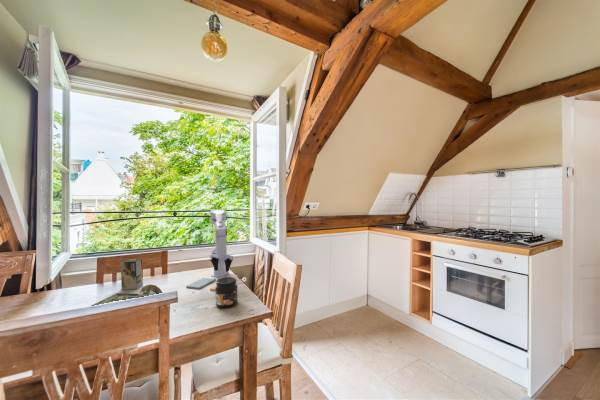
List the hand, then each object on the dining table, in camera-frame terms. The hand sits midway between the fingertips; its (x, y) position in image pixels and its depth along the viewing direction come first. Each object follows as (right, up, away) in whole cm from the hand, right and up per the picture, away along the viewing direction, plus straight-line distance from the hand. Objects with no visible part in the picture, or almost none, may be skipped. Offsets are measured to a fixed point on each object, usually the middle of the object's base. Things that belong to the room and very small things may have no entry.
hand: (221, 270), depth 147 cm
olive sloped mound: (-40, -11, -20) cm, 46 cm away
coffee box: (-54, -10, +1) cm, 54 cm away
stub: (0, -9, 0) cm, 9 cm away
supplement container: (+10, -10, -24) cm, 28 cm away
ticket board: (-14, -9, +4) cm, 17 cm away
